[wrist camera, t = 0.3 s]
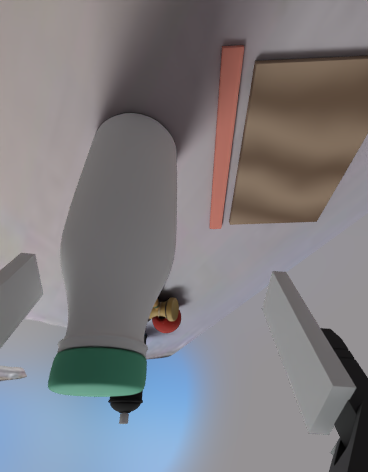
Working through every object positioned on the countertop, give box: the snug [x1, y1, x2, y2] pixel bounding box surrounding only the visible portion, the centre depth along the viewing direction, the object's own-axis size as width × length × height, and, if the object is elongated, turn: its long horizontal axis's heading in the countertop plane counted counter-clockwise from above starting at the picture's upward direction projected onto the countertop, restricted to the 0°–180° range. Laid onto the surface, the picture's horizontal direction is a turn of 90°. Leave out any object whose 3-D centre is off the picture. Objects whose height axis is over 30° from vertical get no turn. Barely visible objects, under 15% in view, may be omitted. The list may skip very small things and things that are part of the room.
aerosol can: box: [108, 334, 147, 424], centre depth 66 cm, size 8×8×20 cm
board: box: [229, 56, 368, 225], centre depth 26 cm, size 18×11×1 cm, turn 2°
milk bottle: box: [48, 113, 177, 397], centre depth 18 cm, size 8×8×20 cm
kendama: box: [148, 297, 181, 333], centre depth 49 cm, size 8×6×18 cm
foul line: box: [210, 45, 244, 229], centre depth 26 cm, size 20×2×1 cm, turn 2°
